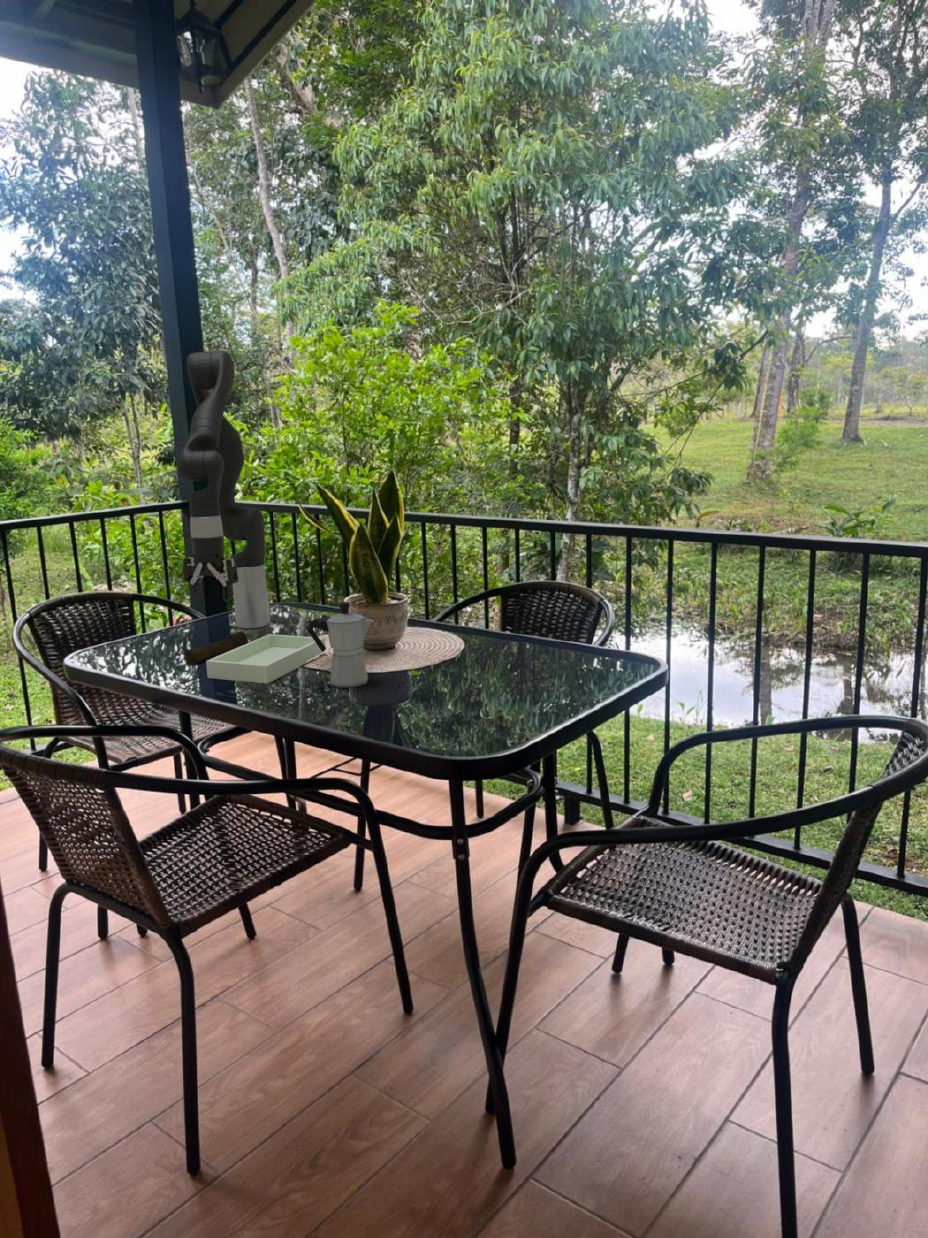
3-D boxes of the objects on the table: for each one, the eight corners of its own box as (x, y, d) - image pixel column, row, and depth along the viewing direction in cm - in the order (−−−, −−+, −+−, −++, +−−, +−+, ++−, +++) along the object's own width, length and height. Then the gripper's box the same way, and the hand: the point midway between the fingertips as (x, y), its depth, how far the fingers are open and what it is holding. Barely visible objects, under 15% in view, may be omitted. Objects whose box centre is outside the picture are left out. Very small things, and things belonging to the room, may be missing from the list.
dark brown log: (195, 666, 223) (193, 648, 222) (184, 664, 225) (183, 645, 224) (255, 649, 238) (253, 631, 237) (244, 647, 240) (243, 629, 239)
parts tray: (270, 649, 236) (269, 634, 235) (325, 653, 230) (324, 638, 229) (207, 678, 212) (206, 661, 211) (267, 683, 206) (266, 666, 206)
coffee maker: (379, 675, 210) (375, 597, 206) (375, 687, 202) (371, 606, 198) (314, 676, 211) (308, 599, 207) (307, 688, 202) (301, 607, 198)
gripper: (240, 533, 226) (246, 598, 230) (192, 531, 231) (198, 595, 235) (222, 537, 219) (227, 604, 223) (173, 535, 225) (179, 601, 228)
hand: (212, 599), depth 229 cm, fingers open, 8 cm apart
